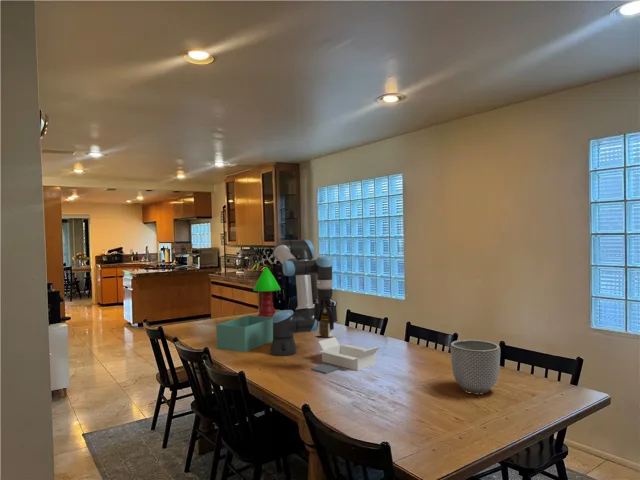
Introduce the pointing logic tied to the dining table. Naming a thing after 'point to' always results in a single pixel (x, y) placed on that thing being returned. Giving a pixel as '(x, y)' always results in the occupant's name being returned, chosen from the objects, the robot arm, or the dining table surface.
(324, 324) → the condiment
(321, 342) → the carton
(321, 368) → the coaster
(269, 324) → the box
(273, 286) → the table lamp
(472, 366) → the planter
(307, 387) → the dining table surface
